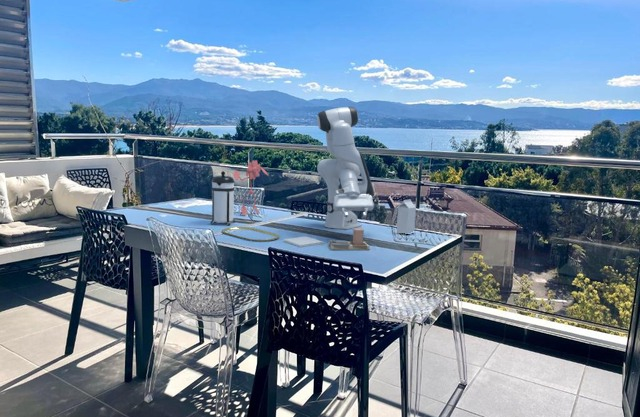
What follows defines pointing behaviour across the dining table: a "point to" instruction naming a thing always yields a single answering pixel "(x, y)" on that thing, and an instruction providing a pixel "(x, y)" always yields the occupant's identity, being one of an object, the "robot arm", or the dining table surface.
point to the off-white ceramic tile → (302, 241)
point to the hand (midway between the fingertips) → (355, 216)
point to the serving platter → (252, 230)
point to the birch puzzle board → (346, 245)
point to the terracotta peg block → (358, 236)
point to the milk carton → (406, 217)
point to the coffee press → (222, 199)
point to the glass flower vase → (252, 173)
